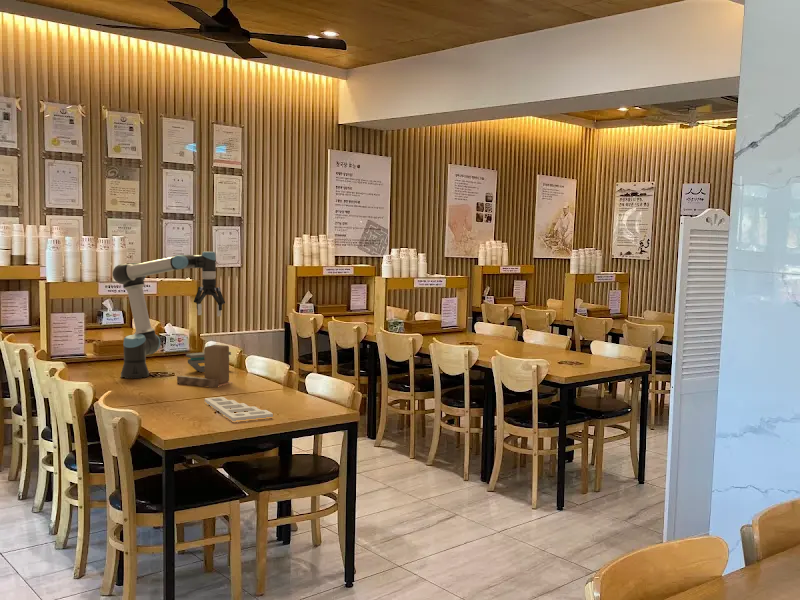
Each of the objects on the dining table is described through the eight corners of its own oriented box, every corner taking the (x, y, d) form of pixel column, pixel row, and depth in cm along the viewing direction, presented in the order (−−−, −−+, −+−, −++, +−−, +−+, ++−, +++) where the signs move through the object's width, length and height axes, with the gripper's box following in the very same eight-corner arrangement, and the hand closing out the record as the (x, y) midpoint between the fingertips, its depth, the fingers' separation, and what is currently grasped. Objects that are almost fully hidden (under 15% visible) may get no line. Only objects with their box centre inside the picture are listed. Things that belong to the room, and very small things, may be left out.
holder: (204, 403, 352) (204, 398, 352) (241, 400, 361) (241, 395, 361) (232, 424, 313) (232, 417, 313) (273, 419, 322) (273, 413, 322)
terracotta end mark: (199, 384, 398) (199, 383, 398) (213, 380, 409) (213, 380, 409) (219, 386, 393) (219, 385, 393) (232, 382, 404) (232, 382, 404)
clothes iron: (191, 374, 430) (191, 355, 429) (185, 372, 436) (185, 353, 435) (230, 370, 445) (230, 352, 444) (225, 368, 451) (225, 350, 451)
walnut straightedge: (177, 383, 399) (177, 376, 399) (180, 382, 402) (180, 375, 402) (215, 387, 389) (214, 380, 389) (218, 386, 392) (218, 379, 392)
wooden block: (229, 381, 405) (229, 345, 404) (219, 384, 396) (219, 347, 394) (214, 380, 408) (213, 344, 407) (203, 383, 399) (203, 346, 398)
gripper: (231, 279, 420) (231, 316, 422) (195, 277, 430) (196, 314, 431) (223, 279, 413) (223, 317, 415) (187, 278, 423) (187, 315, 425)
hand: (209, 315), depth 423 cm, fingers open, 13 cm apart
